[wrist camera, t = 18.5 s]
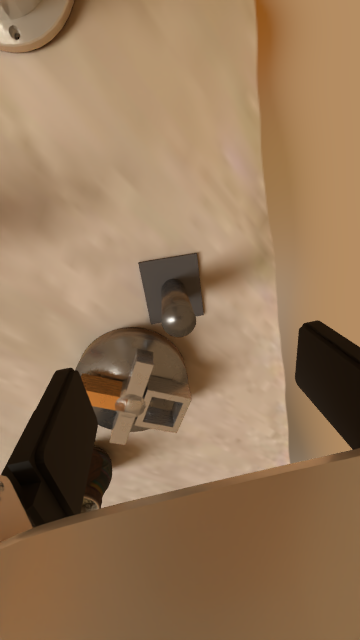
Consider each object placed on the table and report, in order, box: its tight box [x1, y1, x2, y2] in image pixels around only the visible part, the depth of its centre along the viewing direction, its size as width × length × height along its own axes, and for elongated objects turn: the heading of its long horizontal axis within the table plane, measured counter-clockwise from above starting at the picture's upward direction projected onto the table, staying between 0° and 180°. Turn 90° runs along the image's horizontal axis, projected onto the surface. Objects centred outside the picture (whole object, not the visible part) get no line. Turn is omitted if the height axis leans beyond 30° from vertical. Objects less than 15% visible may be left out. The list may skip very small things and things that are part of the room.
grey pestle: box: [161, 279, 196, 337], centre depth 26 cm, size 3×3×10 cm
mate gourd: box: [80, 447, 112, 514], centre depth 36 cm, size 7×8×10 cm
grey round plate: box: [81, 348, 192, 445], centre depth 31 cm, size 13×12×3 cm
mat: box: [139, 253, 204, 324], centre depth 31 cm, size 8×7×1 cm
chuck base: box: [75, 328, 188, 432], centre depth 34 cm, size 15×15×3 cm
